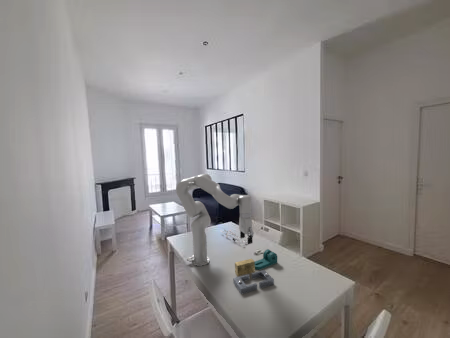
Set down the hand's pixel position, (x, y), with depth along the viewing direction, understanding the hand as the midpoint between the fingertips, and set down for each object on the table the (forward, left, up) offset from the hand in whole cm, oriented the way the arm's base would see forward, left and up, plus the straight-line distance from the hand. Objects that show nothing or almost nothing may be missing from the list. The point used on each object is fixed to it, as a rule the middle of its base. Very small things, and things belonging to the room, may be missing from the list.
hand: (246, 240), depth 132 cm
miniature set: (+13, +47, -20) cm, 53 cm away
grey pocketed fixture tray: (-3, -14, -20) cm, 24 cm away
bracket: (+13, +1, -20) cm, 24 cm away
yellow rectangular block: (-3, -2, -20) cm, 20 cm away
